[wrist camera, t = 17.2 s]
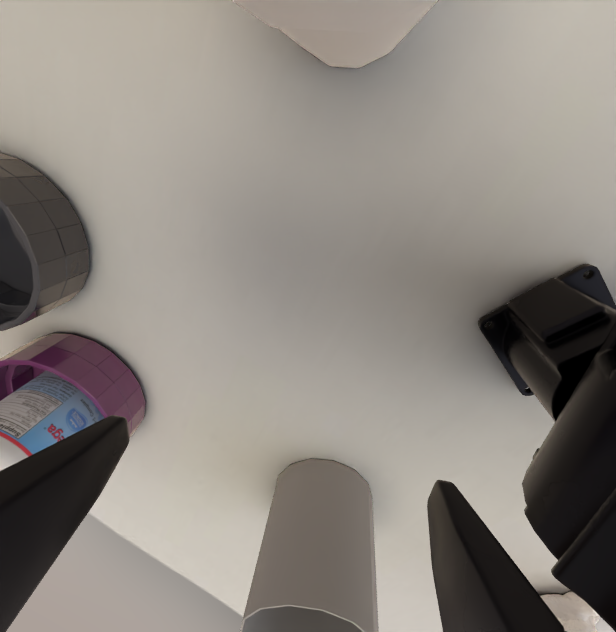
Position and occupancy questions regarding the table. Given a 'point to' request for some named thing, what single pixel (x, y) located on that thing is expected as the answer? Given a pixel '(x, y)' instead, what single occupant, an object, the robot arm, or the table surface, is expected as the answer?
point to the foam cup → (342, 25)
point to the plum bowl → (77, 373)
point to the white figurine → (572, 612)
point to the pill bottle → (42, 416)
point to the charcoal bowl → (36, 245)
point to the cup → (316, 554)
